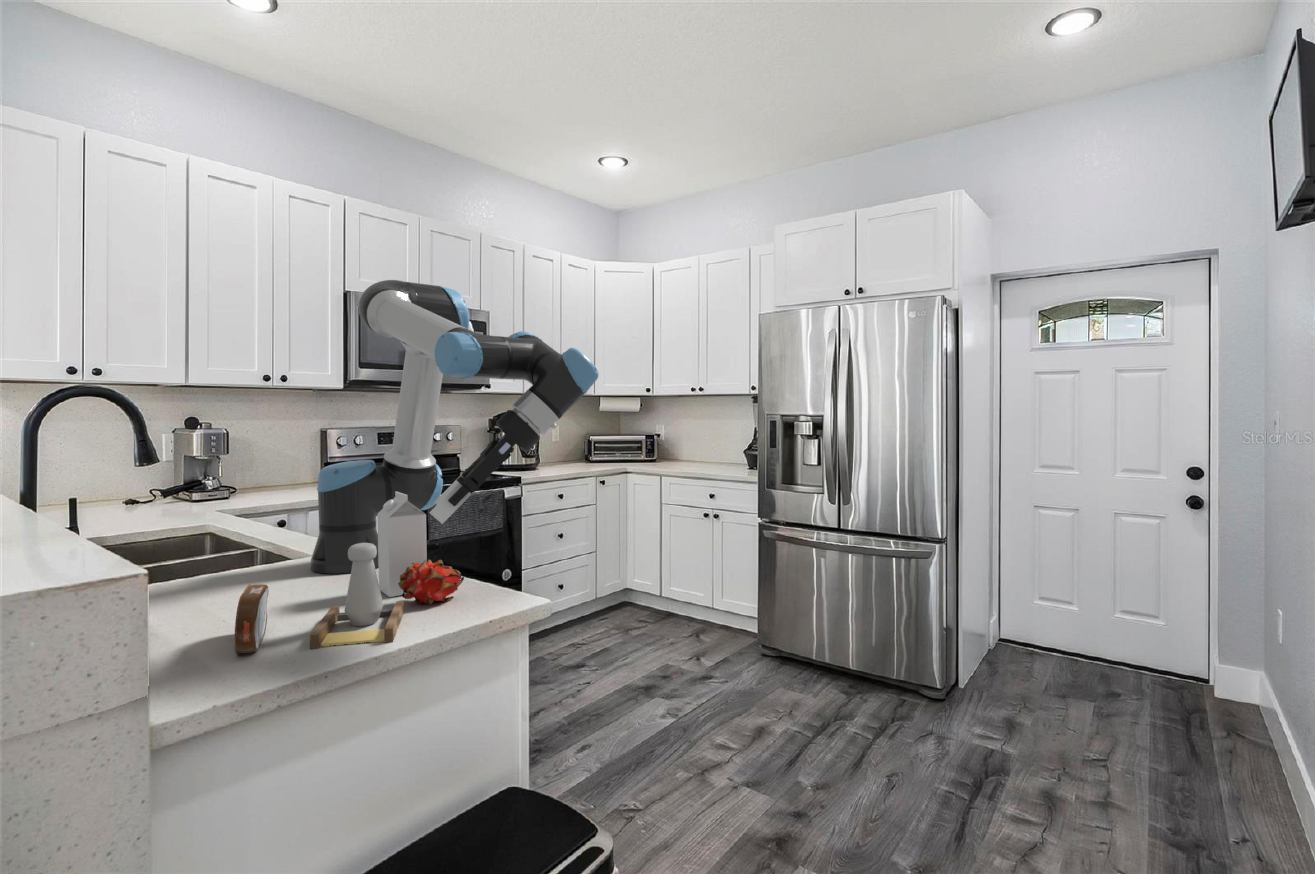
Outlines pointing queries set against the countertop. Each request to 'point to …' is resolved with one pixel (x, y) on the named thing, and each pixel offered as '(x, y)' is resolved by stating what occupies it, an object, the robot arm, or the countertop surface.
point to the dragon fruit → (429, 582)
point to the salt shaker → (363, 586)
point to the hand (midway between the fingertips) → (437, 512)
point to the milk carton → (399, 541)
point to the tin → (251, 619)
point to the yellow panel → (353, 637)
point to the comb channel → (335, 615)
